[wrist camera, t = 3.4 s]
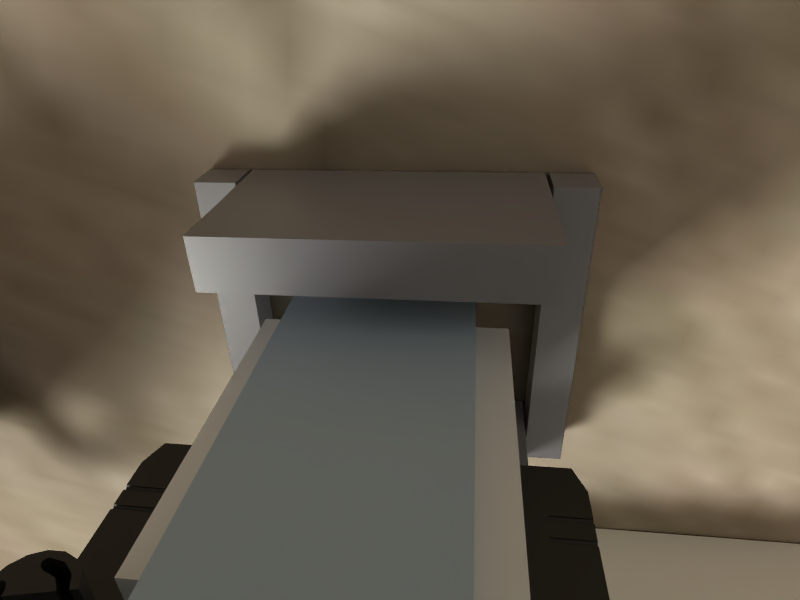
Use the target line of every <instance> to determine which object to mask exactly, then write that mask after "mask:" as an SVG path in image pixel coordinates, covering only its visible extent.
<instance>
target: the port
mask: <svg viewBox="0 0 800 600" xmlns="http://www.w3.org/2000/svg"><path fill="white" fill-rule="evenodd" d="M595 529H596V534H597V539H598V547H599V549H600V554H601V559H602V564H603V569H604V574H605V579H606V583H607V588H608V593H609V598H610V600H800V544H793V543H780V542H767V541H754V540H741V539H728V538H715V537H702V536H689V535H676V534H663V533H650V532H637V531H624V530H611V529H598V528H595Z"/></svg>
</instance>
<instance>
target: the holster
mask: <svg viewBox="0 0 800 600" xmlns="http://www.w3.org/2000/svg"><path fill="white" fill-rule="evenodd" d="M194 187H195V192H196V196H197V201H198V206H199V211H200V215H201V220H200V221H199V222H197V223H196V224H195V225H194V226H193V227H192V228H191V229H190V230H189V231H188V232H187V233H186V234H185V235H184V236H183V239H184V244H185V248H186V252H187V257H188V261H189V265H190V270H191V274H192V278H193V283H194V287H195V291H196V292H199V293H217V296H218V301H219V306H220V310H221V315H222V320H223V325H224V329H225V334H226V339H227V344H228V348H229V353H230V358H231V363H232V367H233V372H234V373H235V371H236V369H237V367H238V366H239V364H240V362H241V361H242V359H243V357H244V355H245V354H246V352H247V350H248V349H249V347H250V345H251V343H252V342H253V340H254V338H255V337H256V335H257V333H258V332H259V330H260V328H261V326H262V325H263V323H264V321H265V320H266V319H273V315H272V308H271V302H270V296H269V295H283V296H311V297H339V298H366V299H394V300H422V301H450V302H478V303H506V304H534V305H535V315H534V324H533V334H532V343H531V353H530V362H529V372H528V381H527V391H526V400H525V410H524V417H523V407H522V401H515V412H516V424H517V437H518V449H519V462H520V465H525V466H528V458H527V457H539V458H554V459H560V457H561V451H562V444H563V438H564V431H565V425H566V418H567V412H568V405H569V399H570V392H571V386H572V379H573V373H574V366H575V360H576V353H577V347H578V340H579V334H580V327H581V321H582V314H583V308H584V301H585V295H586V288H587V282H588V275H589V269H590V262H591V256H592V249H593V243H594V236H595V230H596V223H597V217H598V210H599V204H600V197H601V191H602V187H601V185H600V184H599V182H598V180H597V178H596V176H595V174H594V173H549V182H548V181H547V177H546V174H545V173H522V172H432V171H343V170H252V171H251V172H250V170H249V169H210V170H209V171H207V172H206V173H205V174H204V175H202V176H201V177H200V178H199V179H197V180H196V181H195V182H194Z"/></svg>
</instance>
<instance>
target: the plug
mask: <svg viewBox="0 0 800 600" xmlns="http://www.w3.org/2000/svg"><path fill="white" fill-rule="evenodd" d="M475 373H476V302H450V301H422V300H394V299H366V298H339V297H311V296H293V298H292V300H291V302H290V303H289V305H288V307H287V309H286V311H285V313H284V314H283V316H282V318H281V320H280V322H279V324H278V325H277V327H276V329H275V331H274V333H273V335H272V336H271V338H270V340H269V342H268V344H267V346H266V347H265V349H264V351H263V353H262V355H261V357H260V358H259V360H258V362H257V364H256V366H255V368H254V369H253V371H252V373H251V375H250V377H249V379H248V380H247V382H246V384H245V386H244V388H243V390H242V391H241V393H240V395H239V397H238V399H237V401H236V402H235V404H234V406H233V408H232V410H231V412H230V413H229V415H228V417H227V419H226V421H225V423H224V424H223V426H222V428H221V430H220V432H219V434H218V435H217V437H216V439H215V441H214V443H213V445H212V446H211V448H210V450H209V452H208V454H207V455H206V457H205V459H204V461H203V463H202V465H201V466H200V468H199V470H198V472H197V474H196V476H195V477H194V479H193V481H192V483H191V485H190V487H189V488H188V490H187V492H186V494H185V496H184V498H183V499H182V501H181V503H180V505H179V507H178V509H177V510H176V512H175V514H174V516H173V518H172V520H171V521H170V523H169V525H168V527H167V529H166V531H165V532H164V534H163V536H162V538H161V540H160V542H159V543H158V545H157V547H156V549H155V551H154V553H153V554H152V556H151V558H150V560H149V562H148V564H147V565H146V567H145V569H144V571H143V573H142V575H141V576H140V578H139V580H138V582H137V584H136V586H135V587H134V589H133V591H132V593H131V595H130V597H129V598H128V600H474V491H475Z"/></svg>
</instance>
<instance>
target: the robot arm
mask: <svg viewBox="0 0 800 600" xmlns="http://www.w3.org/2000/svg"><path fill="white" fill-rule="evenodd" d="M279 322H280V319H266V320H265V321H264V323H263V325H262V326H261V328H260V330H259V332H258V333H257V335H256V337H255V338H254V340H253V342H252V343H251V345H250V347H249V349H248V350H247V352H246V354H245V355H244V357H243V359H242V361H241V362H240V364H239V366H238V367H237V369H236V371H235V373H234V374H233V376H232V378H231V379H230V381H229V383H228V384H227V386H226V388H225V390H224V391H223V393H222V395H221V396H220V398H219V400H218V402H217V403H216V405H215V407H214V408H213V410H212V412H211V413H210V415H209V417H208V419H207V420H206V422H205V424H204V425H203V427H202V429H201V431H200V432H199V434H198V436H197V437H196V439H195V441H194V443H193V444H192V445H183V444H168V443H165V444H164V445H162V446H161V447H160V448H159V449H158V450H156V451H155V452H154V453H153V454H151V455H150V456H149V457H148V458H147V459H145V460H144V461H143V462H142V463H141V464H140V466H139V467H138V469H137V470H136V472H135V473H134V475H133V476H132V478H131V479H130V481H129V482H128V484H127V488H126V490H123V491H122V493H121V494H120V496H119V497H118V499H117V500H116V502H115V503H114V508H113V509H110V511H109V512H108V514H107V515H106V517H105V518H104V520H103V521H102V523H101V525H100V526H99V528H98V529H97V531H96V532H95V534H94V535H93V537H92V538H91V540H90V541H89V543H88V544H87V546H86V547H85V549H84V550H83V552H82V553H81V555H80V556H79V558H78V559H76V558H75V557H73V556H72V555H70V554H68V553H67V552H65V551H53V550H47V551H43V552H38V553H34V554H30V555H27V556H25V557H23V558H21V559H19V560H17V561H15V562H13V563H11V564H9V565H7V566H6V567H5V568H4V569H2V570H1V571H0V600H128V598H129V597H130V595H131V593H132V591H133V589H134V587H135V586H136V584H137V582H138V580H139V578H140V576H141V575H142V573H143V571H144V569H145V567H146V565H147V564H148V562H149V560H150V558H151V556H152V554H153V553H154V551H155V549H156V547H157V545H158V543H159V542H160V540H161V538H162V536H163V534H164V532H165V531H166V529H167V527H168V525H169V523H170V521H171V520H172V518H173V516H174V514H175V512H176V510H177V509H178V507H179V505H180V503H181V501H182V499H183V498H184V496H185V494H186V492H187V490H188V488H189V487H190V485H191V483H192V481H193V479H194V477H195V476H196V474H197V472H198V470H199V468H200V466H201V465H202V463H203V461H204V459H205V457H206V455H207V454H208V452H209V450H210V448H211V446H212V445H213V443H214V441H215V439H216V437H217V435H218V434H219V432H220V430H221V428H222V426H223V424H224V423H225V421H226V419H227V417H228V415H229V413H230V412H231V410H232V408H233V406H234V404H235V402H236V401H237V399H238V397H239V395H240V393H241V391H242V390H243V388H244V386H245V384H246V382H247V380H248V379H249V377H250V375H251V373H252V371H253V369H254V368H255V366H256V364H257V362H258V360H259V358H260V357H261V355H262V353H263V351H264V349H265V347H266V346H267V344H268V342H269V340H270V338H271V336H272V335H273V333H274V331H275V329H276V327H277V325H278V324H279ZM474 600H610V598H609V593H608V588H607V583H606V579H605V574H604V569H603V564H602V559H601V554H600V549H599V547H598V539H597V534H596V529H595V524H593V515H592V510H591V505H590V500H589V495H588V492H587V490H586V489H585V487H584V486H583V484H582V483H581V482H580V480H579V479H578V477H577V476H576V475H575V473H574V472H573V470H572V469H570V468H555V467H540V466H525V465H520V462H519V449H518V437H517V424H516V412H515V400H514V387H513V375H512V362H511V350H510V337H509V329H503V328H478V327H476V373H475V491H474Z"/></svg>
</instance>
